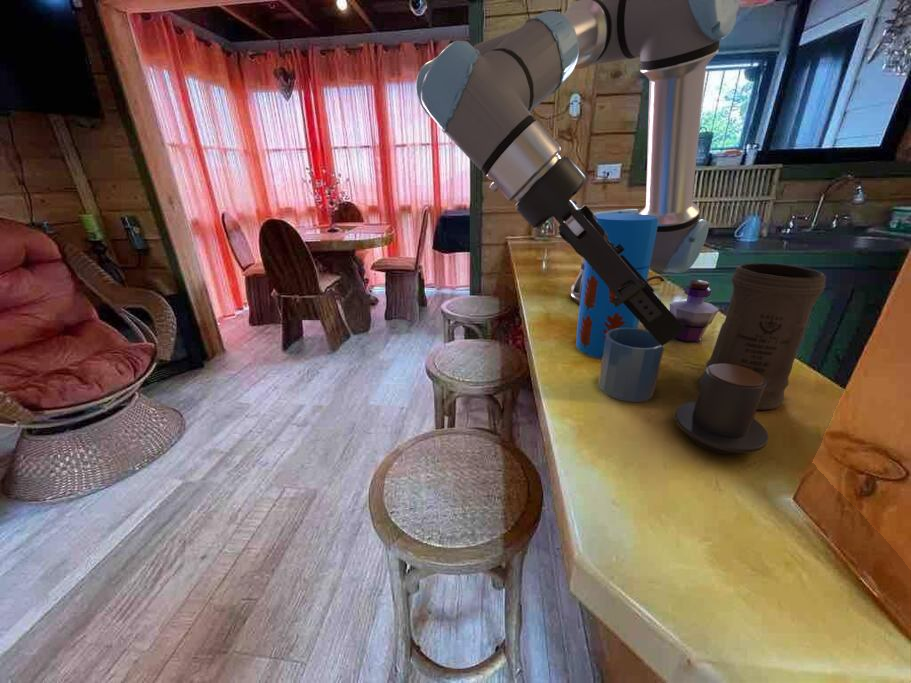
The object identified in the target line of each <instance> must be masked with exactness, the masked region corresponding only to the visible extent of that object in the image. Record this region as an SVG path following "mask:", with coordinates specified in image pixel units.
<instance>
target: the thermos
mask: <svg viewBox="0 0 911 683" xmlns="http://www.w3.org/2000/svg"><path fill="white" fill-rule="evenodd" d="M595 216H596V218H597V222H598V223H599V224H600V226H601V227H602V228H603V229H604V231H605V232H606V233H607V234H608V240H609V241H610V242H611V243H613V244H614V247H616V246H618V245H619V244H620V245H621V246H622V247H623V248H624V249H625V250H624V251H623V252H622V253H621V254H619V256H621V255H622V254H623V256H624V257H625V258H626V259H627V260H628V261H629V262H630V264H631V265H632V266H633V267H634V268H635V269H636V270H637V271H638V273H639V274H640V275H641V276H642V277H643V278H644V279H645V281H646V282H647V279H648V278H649V272H650V269H649V268H650V263H651V258H652V253H653V248H654V243H655V237H656V232H657V226H658V217H656V216H652V215H644V214H624V213H614V214H598V215H595ZM647 283H648V282H647ZM621 288H622V287H621V286H620V287H619V289H621ZM615 297H616V296H615V295H614V293H613V292H612V291H611V290H610V289H609V287H608V286H607V285H606V284H605V283H604V281H603V280H602V279H601V278H600V277H599V275H598V274H597V273H596V272H595V271H594V269H593V268H592V267H591V266H590V265H589V263H588V262H587V261H585V268H584V276H583V284H582V292H581V300H580V304H579V308H578V317H577V324H576V325H577V326H576V342H575V345H576V349H577V350H579V352H581V353H582V354H585V356H586V355H587V356H589V357H592V358H596V359H601V360H602V356H603V349H604V343H605V337H606V333H607V332H608V331H609V330H611V329H615V328H624V327H628V328H638V329H639V324H640V321H639V320H638V319H637V318H636V317H635V316H634V315H633V313H632V312H631V311H630V310H629V309H628V308H627V307H626V306H625V305H624V303H622V304H621V305H619V306H618V307H616V306H615V305H614V304H613V302H612V300H613V299H615Z"/></svg>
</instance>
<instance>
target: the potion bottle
mask: <svg viewBox="0 0 911 683" xmlns="http://www.w3.org/2000/svg"><path fill="white" fill-rule="evenodd" d="M710 284H711V283H710V282H709V281H705V280H702V279H692V280H690V281H689V285H686V286H685V288H684V292H683V293H684V294H685V295H687V298H686V299H676V300H673V301H671V302H669V311H670V312H671V313H672V314H673V315H674V316H675V318H676V319H677V320H678V321H679V322H680V323H681V324H682V325H683V327H684V328H685V329H686V331H685V332H683V333H682V334H680V335H679V336H677V337H675V338H674V339H673V340H677V341H681V342H684V343H698V342H700V341H702V337H703V335H704V333H705V332H706V330H707V328H708V327H709V325H711V324H712V322H713V321H714V319H715V318H716V316H717V314H718V312H719V311H720V309H719V307H717V306H715V305H714V304H712V303H710V302H705V299H706V298H709V297H710V296H711V294H712V288H711V287H710Z"/></svg>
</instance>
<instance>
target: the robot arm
mask: <svg viewBox="0 0 911 683" xmlns="http://www.w3.org/2000/svg"><path fill="white" fill-rule="evenodd" d="M740 2H741V0H577V1H575V2H574V3H572V4H571V5H570V6H569V7H568V8H567V10H565V12H564V13H560V12H558V11H555V10H547V11H544V12H541V13H539V14H538V15H536V16H535V17H534V18H533V17H531V18H529V19H527V20H526V21H525V23H524V24H523V25H522V26H521V27H518V28H517V29H515V30H513V31H510V32H507V33H504V34H501V35H498V36H494V37H493V38H490V39H487V40H484V41H482V42H479V43H476V44H473V45H472V44H470V42H468V41H467V40H458V39H457V40H455V41H452V42H451V43H450V44H448V45H447V46H446V47H445V48H444V49H443V50H442V51H441V52H440V53H439V55H438V56H436V57H434V58H433V59H432V60H430V61H428V62H426V63H425V64H423V66H421V68H420V70H419V71H418V74H417V77H416V81H415V82H416V83H415V91H416V96H417V100H418V103H419V105H420V108H421V109H422V111H423V113H424V114H426V116H428V117H429V118H431V119H433V120H434V121H435V123H436V124H437V125H438V127H439V128H440V129H441V131H442V133H443V134H445V135H446V136H447V137H448V138H449V139H450V140H451V141H452V142H453V143H454V145H456V146H457V147H458V148H459V149H460V150H461V151H462V153H464V155H465V156H466V157H467V158H468V159H469V160H470V161H471V162H472V163H473V164H474V165H475V166H476V167H477V169H479V170H480V172H481V173H482V174H483V175H484V176H485V177H487V179H488V180H490V181H493V182H491V183H490V185H489V188H490V191H491V192H492V193H496V192H497V191H498V190H499V191H500V193H501V194H502V195H503V196H504V197H505V199H507V201H509V202H512V201H514V200H515V201H516V202H517V203H516V204H515V211H517V212H518V214H520V216H521V217H522V218H523V219H524V220H525V221H526V222H527V223H528V224H529V226H531V227H532V228H534V229H538V228H540V227H542V226H543V225H544V224H545V223H546V222H547V221H549V219H551V218H552V217H553V218H554V219H555V221H556V222H557V223H558V224H559V225H558V226H557V231H558V235H559V236H560V237H561V238H562V240H564V241H565V242H566V243H568V244H569V245H570V246H571V247H572V249H573V250H574V252H576V254H578V255H579V256H580V257H581V264H580V270H579V273H578V275H577V277H576V280H575V282H574V283H573V284H572V285H571V287H570V289H571V290H570V297H569V298H570V300H571V301H572V302H573V303H575V304H577V305H580V300H581V292H582V284H583V276H584V268H585V261H587V262H588V263H589V265H590V266H591V267H592V268H593V269H594V271H595V272H596V273H597V274H598V275H599V277H600V278H601V279H602V280H603V281H604V283H605V284H606V285H607V286H608V287H609V289H610V290H611V291H612V292H613V293H614V295H615V296H616V297H615V299H613V300H612V302H613V304H614V305H615V306H616V307H618V306H619V305H621V304H622V303H624V305H625V306H626V307H627V308H628V309H629V310H630V311H631V312H632V313H633V315H634V316H635V317H636V318H637V319H638V320H639V323H640V324H641V325H642V326H643V327H644V328H645V330H647V331H649V332H650V333H651V334H652V336H653V337H654V338H655V339H656V340H657V341H658V342H659V343H660V344H661V345H662V346H663V345H664V344H665V345H666V344H668V343H670V342H671V341H672V340H675V339H674V338H675V337H677V336H679V335H680V334H682V333H683V332H685V331H686V329H685V328H684V327H683V325H682V324H681V323H680V322H679V321H678V320H677V319H676V318H675V316H674V315H673V314H672V313H671V312H670V309H669V308H668V307H667V306H666V305H665V304H664V302H663V301H661V299H660V298H659V297H658V296H657V295H656V294H655V290H654V288H652V285H651V284H649V282H650V281H652V280H655V279H658V280H660V281H661V282H662V281H663V282H664V281H665V279H664V277H662V276H661V275H653V276H649V277H648V278H647V282H646V281H645V279H644V278H643V277H642V276H641V275H640V274H639V273H638V271H637V270H636V269H635V268H634V267H633V266H632V265H631V264H630V262H629V261H628V260H627V259H626V258H625V257H624V256H623V254H622V255H621V256H619V254H621V253H622V252H623V251H624V250H625V249H624V248H623V247H622V246H621V245H620V244H619V245H618V246H616V247H614V244H613V243H611V242H610V241H609V240H608V234H607V233H606V232H605V231H604V229H603V228H602V227H601V226H600V224H599V223H598V222H597V218H596V216H595V215H598V214H614V213H624V214H644V215H652V216H656V217H658V226H657V232H656V237H655V243H654V248H653V253H652V258H651V263H650V268H649V270H654V271H662V272H663V273H674V274H675V273H676V274H682V273H685V272H687V271H688V270H690V269H691V268H692V267H693V265H694V264H695V262H696V261H697V260H698V258H699V256H700V254H701V252H702V250H703V247H704V245H705V243H706V240H707V237H708V234H709V229H710V226H709V221H708V220H705V219H703V218H701V219H700V208H699V205H697V204H696V203H694V202H693V196H694V186H695V178H696V167H697V157H698V148H699V147H698V146H699V139H700V129H701V128H700V127H701V118H702V111H703V109H702V108H703V99H704V91H705V90H704V89H705V80H706V73H707V72H706V71H707V66H708V64H709V63H710V61H711V60H712V59H713V58H714V57H715V56H716V55H717V53H719V51H720V50H719V49H720V41H722V40H723V39H725V38H727V37H728V36H729V35H730V34H731V32H732V31H733V29H734V27H735V25H736V22H737V14H738V12H739V10H740V9H739V8H740ZM637 58H640V70H639V71H640V73H641V74H643V75H644V76H645V77H647V79H648V80H649V84H648V85H649V86H648V87H649V88H648V116H647V118H648V119H647V121H648V122H647V152H646V153H647V154H646V183H645V184H646V190H645V191H646V192H645V207H644V208H643V209H641V210H640V212H639V209H637V208H625V209H614V210H613V209H612V210H605V211H599V212H598V211H597V212H592V210H591V209H590V208H589V207H588V206H587V205H586V204H583V205H582V206H581V207H579V205H578V203H577V202H576V201H575V200H573V199H572V198H573V197H574V196H575V195H576V194H577V193H578V192H579V191H580V190H581V189H582V187H583V186H584V185H585V183H586V180H587V179H586V175H585V174H584V173H583V172H582V171H581V170H580V168H579V167H578V166H577V165H576V163H574V161H572V159H571V158H570V157H569V156H565V155H563V156H562V157H561V156H560V154H559V153H560V152H561V146H560V144H559V143H558V142H557V141H556V140H555V139H554V138H553V136H552V135H551V134H550V133H549V132H548V131H547V130H546V128H545V127H544V126H543V124H541V123H540V122H539V121H538V119H536V118H535V117H534V115H532V113H531V112H532V111H533V110H535V108H536V107H538V106H539V105H540V104H541V103H542V102H544V101H545V100H546V99H547V98H548V97H550V96H551V95H552V94H554V93H555V92H557V91H558V90H559V89H560V87H561V85H562V84H563V83H564V82H565V81H566V80H567V79H568V78H569V77H570V75H572V73H573V71H574V70H576V69H577V70H583V69H586V68H588V67H590V66H593V65H599V64H604V63H612V62H620V61H627V60H633V59H637ZM620 286H621V287H622V288H621V289H619V287H620Z"/></svg>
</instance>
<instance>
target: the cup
mask: <svg viewBox="0 0 911 683" xmlns="http://www.w3.org/2000/svg"><path fill="white" fill-rule="evenodd" d="M665 347H666V344H664V345H663V346H662V345H661V344H660V343H659V342H658V341H657V340H656V339H655V338H654V337H653V336H652V334H651V333H650V332H649V331H648V330H647V329H642V328H639V327H638V328H628V327H624V328H615V329H611V330H609V331H608V332H607V333H606V337H605V343H604V349H603V356H602V359H601V362H600V367H599V368H600V369H599V374H598V387H599V389H600V390H601V391H602V392H603V393H604V394H605V395H607V396H609V397H610V398H613V399H616V400H620V401H623V402H629V403H642V402H645V401H648V400H650V399H651V398H652V397H653V396H654V393H655V389H656V386H657V381H658V377H659V372H660V368H661V364H662V359H663V355H664V353H665V352H664V351H665Z"/></svg>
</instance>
